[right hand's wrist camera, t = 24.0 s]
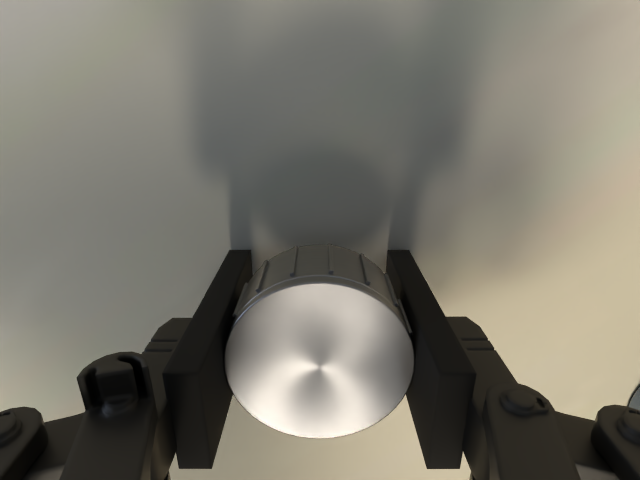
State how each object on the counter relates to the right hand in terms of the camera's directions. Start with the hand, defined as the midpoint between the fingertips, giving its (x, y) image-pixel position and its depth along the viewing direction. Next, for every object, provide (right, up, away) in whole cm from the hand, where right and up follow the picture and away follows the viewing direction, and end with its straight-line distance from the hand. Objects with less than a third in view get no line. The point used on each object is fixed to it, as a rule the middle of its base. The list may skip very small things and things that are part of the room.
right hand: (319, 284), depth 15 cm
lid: (0, -2, -4) cm, 4 cm away
